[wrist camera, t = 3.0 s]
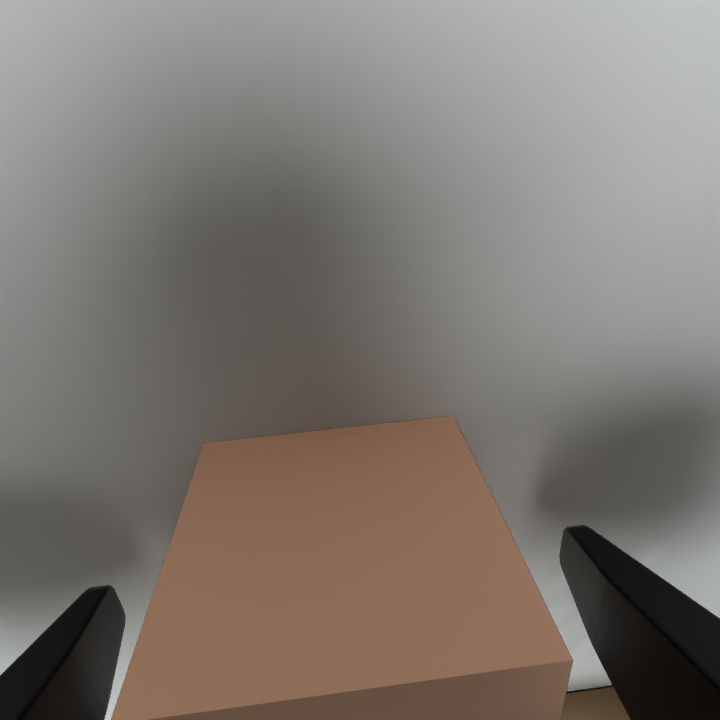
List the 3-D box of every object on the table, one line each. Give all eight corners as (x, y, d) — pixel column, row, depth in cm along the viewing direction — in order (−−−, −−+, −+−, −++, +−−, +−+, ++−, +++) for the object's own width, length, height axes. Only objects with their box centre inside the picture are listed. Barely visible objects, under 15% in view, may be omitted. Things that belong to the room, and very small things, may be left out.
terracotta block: (452, 413, 10) (575, 665, 5) (448, 581, 12) (532, 858, 7) (203, 441, 9) (107, 730, 5) (248, 607, 12) (209, 910, 7)
